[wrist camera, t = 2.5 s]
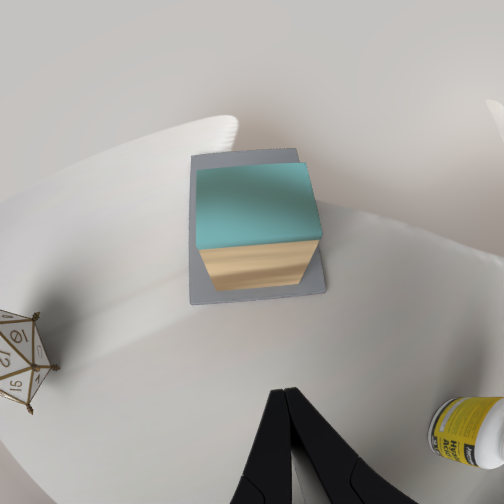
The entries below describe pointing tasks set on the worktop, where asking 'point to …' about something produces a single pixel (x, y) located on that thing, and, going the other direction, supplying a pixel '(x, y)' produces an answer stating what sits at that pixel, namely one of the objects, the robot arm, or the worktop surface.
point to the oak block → (256, 224)
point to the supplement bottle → (470, 431)
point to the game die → (21, 358)
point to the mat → (198, 274)
